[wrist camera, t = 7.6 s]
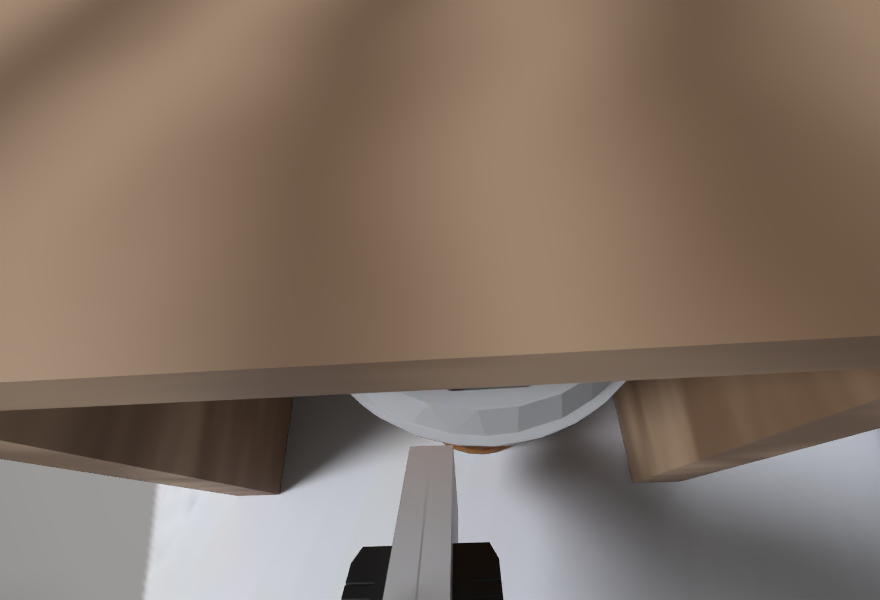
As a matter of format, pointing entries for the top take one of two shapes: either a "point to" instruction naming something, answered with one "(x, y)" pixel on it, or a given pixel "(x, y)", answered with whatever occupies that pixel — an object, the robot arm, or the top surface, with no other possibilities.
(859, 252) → the walnut shelf
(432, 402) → the disposable coffee cup
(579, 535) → the top surface
